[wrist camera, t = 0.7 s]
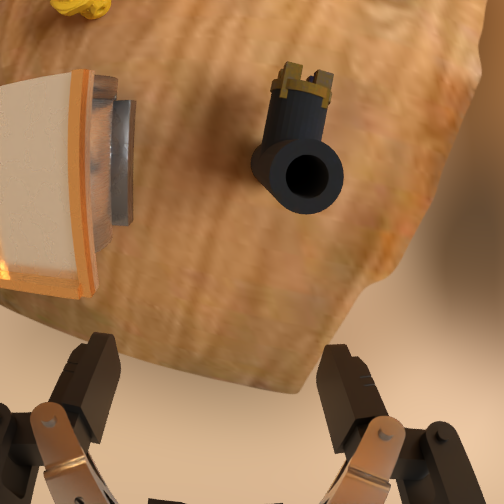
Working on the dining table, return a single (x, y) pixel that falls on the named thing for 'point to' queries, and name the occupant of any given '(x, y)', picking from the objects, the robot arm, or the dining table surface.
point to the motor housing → (62, 180)
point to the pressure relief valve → (82, 7)
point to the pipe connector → (298, 143)
